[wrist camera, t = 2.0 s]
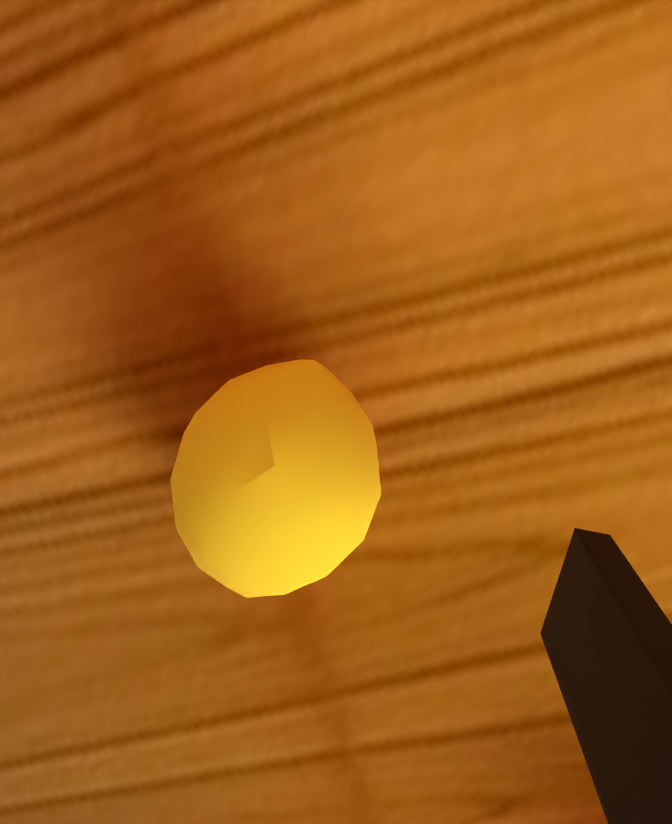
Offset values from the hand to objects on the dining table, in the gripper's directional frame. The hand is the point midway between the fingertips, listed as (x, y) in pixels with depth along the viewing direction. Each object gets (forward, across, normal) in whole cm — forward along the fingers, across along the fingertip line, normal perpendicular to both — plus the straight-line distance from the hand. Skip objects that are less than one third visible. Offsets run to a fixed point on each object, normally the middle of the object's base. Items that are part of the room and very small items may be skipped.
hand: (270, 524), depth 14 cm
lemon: (+6, 0, 0) cm, 6 cm away
